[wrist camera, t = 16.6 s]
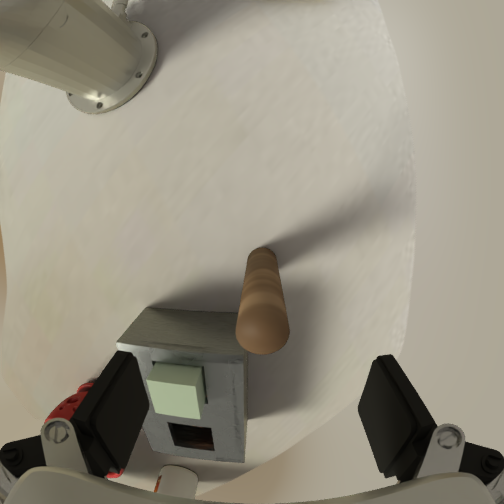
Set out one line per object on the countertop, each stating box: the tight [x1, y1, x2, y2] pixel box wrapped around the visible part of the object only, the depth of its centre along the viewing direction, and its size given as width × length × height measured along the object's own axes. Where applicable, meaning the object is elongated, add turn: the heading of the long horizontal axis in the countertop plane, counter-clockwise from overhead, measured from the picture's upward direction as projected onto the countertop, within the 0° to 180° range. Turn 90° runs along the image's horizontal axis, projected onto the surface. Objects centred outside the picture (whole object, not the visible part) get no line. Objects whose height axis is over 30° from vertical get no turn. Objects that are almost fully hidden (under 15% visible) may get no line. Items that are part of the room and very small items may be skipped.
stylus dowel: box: [236, 248, 290, 354], centre depth 22 cm, size 3×3×14 cm
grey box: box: [116, 307, 248, 463], centre depth 29 cm, size 18×12×8 cm, turn 179°
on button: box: [146, 361, 207, 419], centre depth 23 cm, size 4×4×5 cm
